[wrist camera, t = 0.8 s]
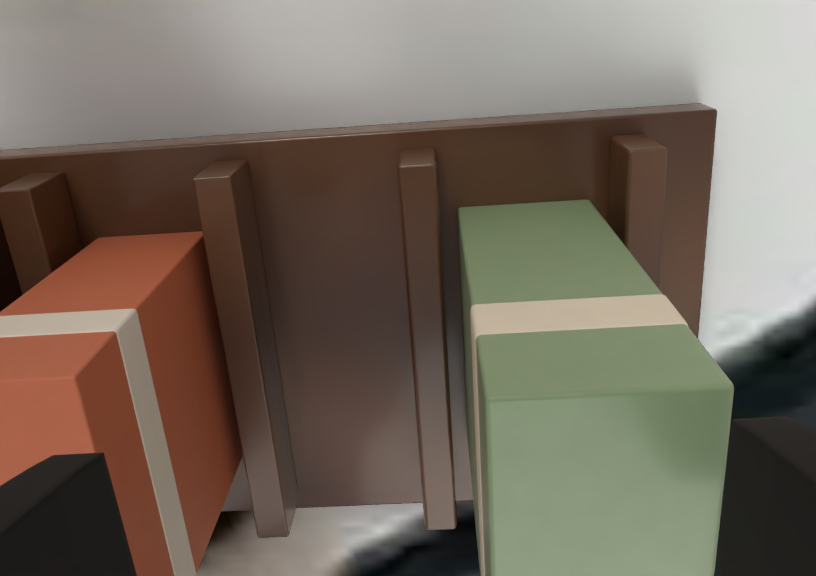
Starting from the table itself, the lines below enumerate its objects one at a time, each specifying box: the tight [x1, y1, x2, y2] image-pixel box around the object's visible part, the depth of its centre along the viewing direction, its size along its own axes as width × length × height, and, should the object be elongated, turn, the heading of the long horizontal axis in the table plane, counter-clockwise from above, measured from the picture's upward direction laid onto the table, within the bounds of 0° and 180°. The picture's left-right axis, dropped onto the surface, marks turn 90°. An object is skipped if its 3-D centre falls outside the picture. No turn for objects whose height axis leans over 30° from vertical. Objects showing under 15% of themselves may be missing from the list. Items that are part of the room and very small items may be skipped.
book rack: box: [0, 103, 717, 538], centre depth 15 cm, size 10×17×8 cm, turn 94°
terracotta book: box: [0, 231, 243, 576], centre depth 15 cm, size 6×3×7 cm, turn 4°
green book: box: [457, 200, 734, 576], centre depth 14 cm, size 6×3×8 cm, turn 4°
